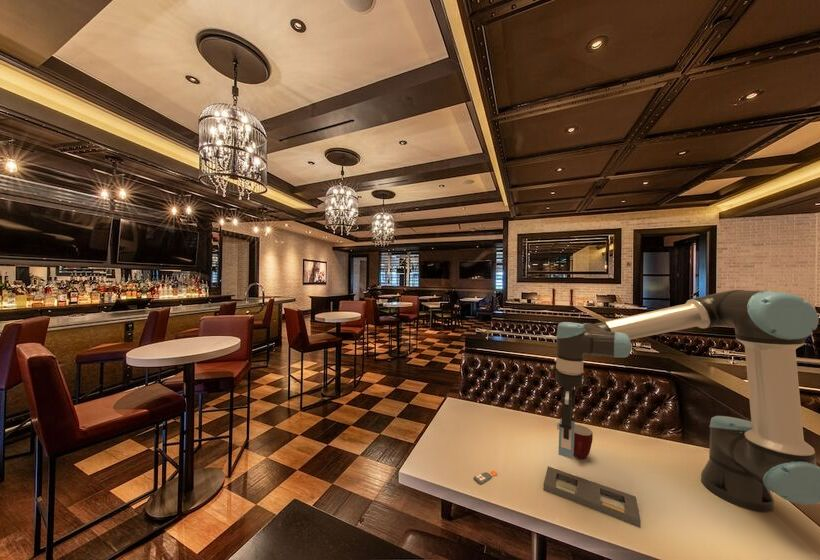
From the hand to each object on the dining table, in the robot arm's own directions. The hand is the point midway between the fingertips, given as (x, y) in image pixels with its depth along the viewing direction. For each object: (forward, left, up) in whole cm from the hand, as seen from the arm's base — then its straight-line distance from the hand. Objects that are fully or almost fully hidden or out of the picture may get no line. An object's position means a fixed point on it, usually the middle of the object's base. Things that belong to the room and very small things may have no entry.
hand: (566, 443), depth 90 cm
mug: (-3, -21, -14) cm, 25 cm away
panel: (-6, 0, -14) cm, 16 cm away
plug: (0, 0, -3) cm, 3 cm away
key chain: (+22, +8, -15) cm, 28 cm away
